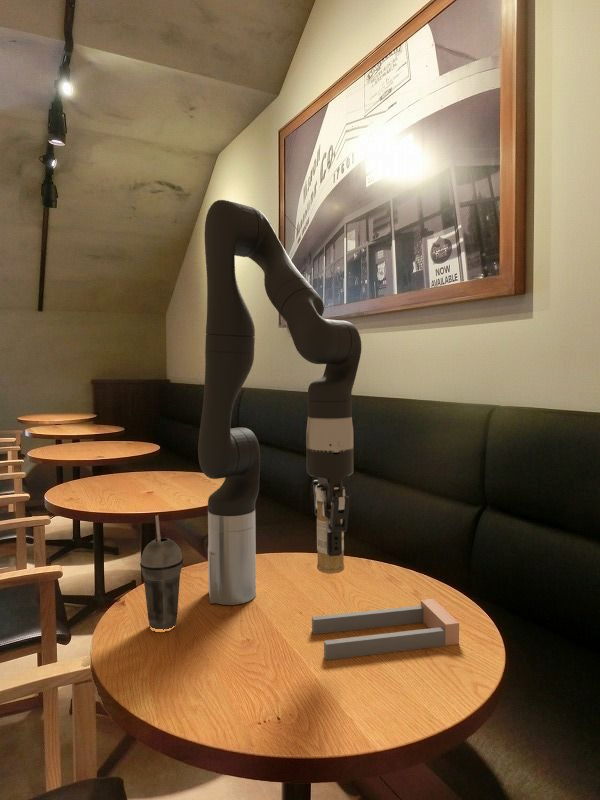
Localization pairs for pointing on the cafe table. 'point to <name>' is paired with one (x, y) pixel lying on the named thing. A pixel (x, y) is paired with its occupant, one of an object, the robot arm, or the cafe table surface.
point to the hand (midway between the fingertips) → (330, 549)
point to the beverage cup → (161, 580)
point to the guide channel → (429, 612)
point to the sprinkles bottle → (324, 560)
